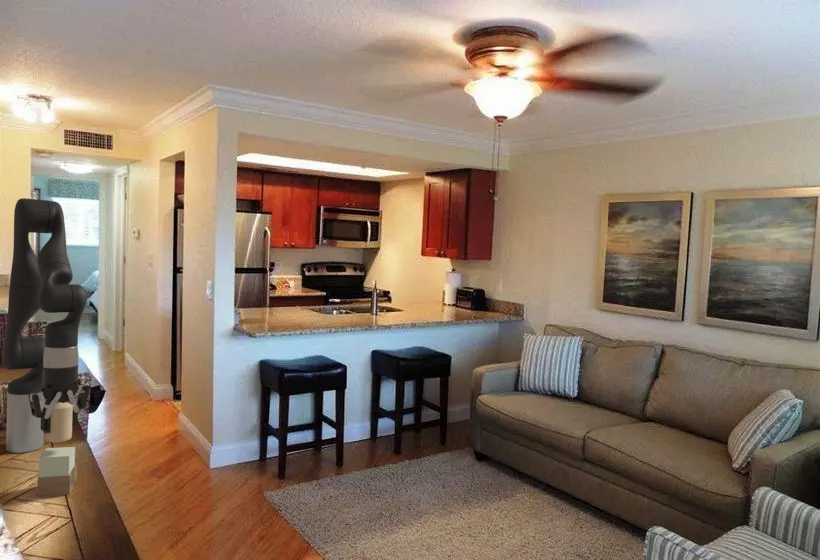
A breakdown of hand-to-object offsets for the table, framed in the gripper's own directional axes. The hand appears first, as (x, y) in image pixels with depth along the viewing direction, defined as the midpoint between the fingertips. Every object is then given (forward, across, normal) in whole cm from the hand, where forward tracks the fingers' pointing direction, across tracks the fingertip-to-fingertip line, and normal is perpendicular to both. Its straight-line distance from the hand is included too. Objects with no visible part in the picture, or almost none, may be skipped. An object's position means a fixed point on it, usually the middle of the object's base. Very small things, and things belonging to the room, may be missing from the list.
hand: (59, 429), depth 144 cm
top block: (+11, 0, 0) cm, 11 cm away
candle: (+3, 0, 0) cm, 3 cm away
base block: (+16, 0, 0) cm, 16 cm away
